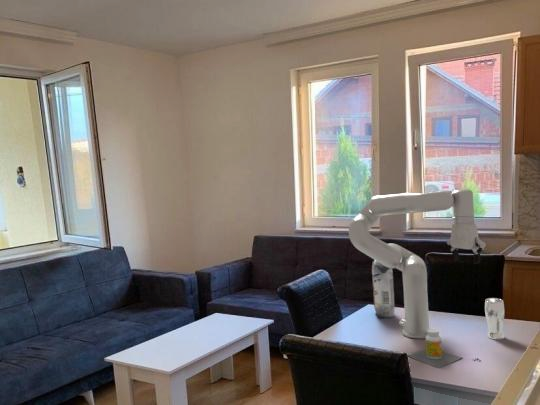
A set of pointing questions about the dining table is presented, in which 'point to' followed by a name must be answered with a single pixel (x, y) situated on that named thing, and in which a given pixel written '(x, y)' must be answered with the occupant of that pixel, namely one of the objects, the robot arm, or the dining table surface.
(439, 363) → the felt mat
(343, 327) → the dining table surface
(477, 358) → the glass bead dots
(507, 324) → the dining table surface
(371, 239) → the robot arm
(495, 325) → the beer glass
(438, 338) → the supplement bottle
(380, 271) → the juice carton
